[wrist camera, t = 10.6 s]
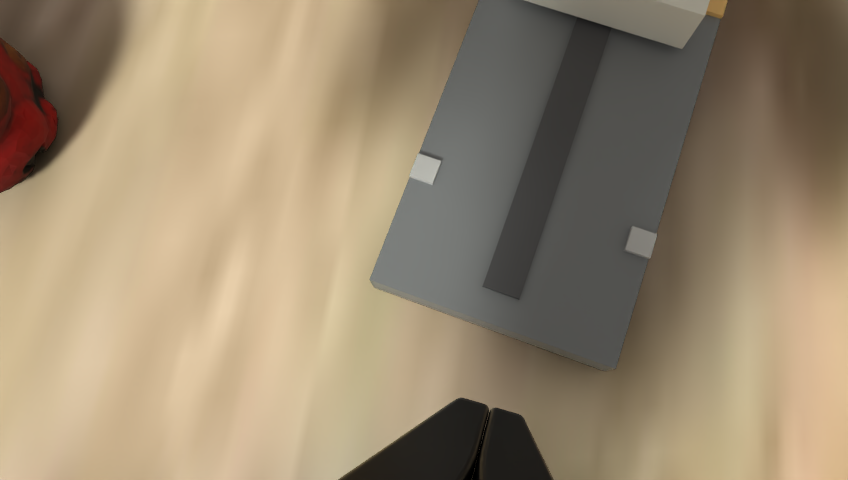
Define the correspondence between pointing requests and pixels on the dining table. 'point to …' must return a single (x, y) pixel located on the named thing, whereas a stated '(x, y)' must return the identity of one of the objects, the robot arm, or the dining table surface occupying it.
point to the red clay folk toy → (22, 117)
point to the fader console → (545, 177)
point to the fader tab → (639, 16)
